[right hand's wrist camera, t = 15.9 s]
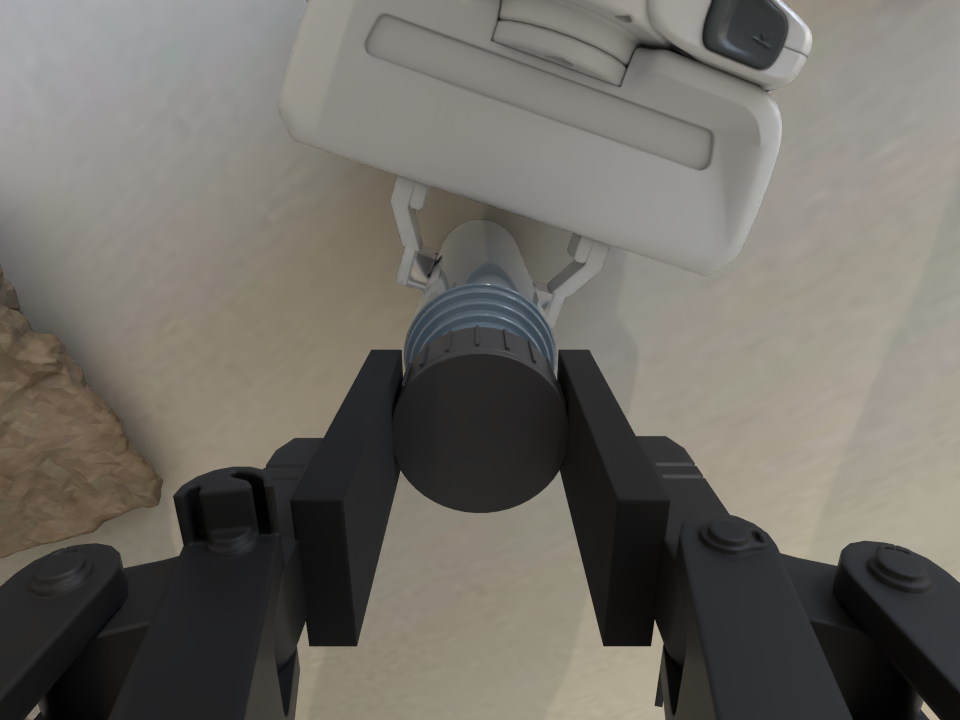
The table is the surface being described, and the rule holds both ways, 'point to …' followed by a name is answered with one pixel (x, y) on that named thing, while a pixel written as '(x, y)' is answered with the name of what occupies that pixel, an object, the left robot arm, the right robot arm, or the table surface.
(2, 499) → the stone
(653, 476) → the right robot arm
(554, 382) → the cap
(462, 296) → the bottle
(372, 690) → the table surface
